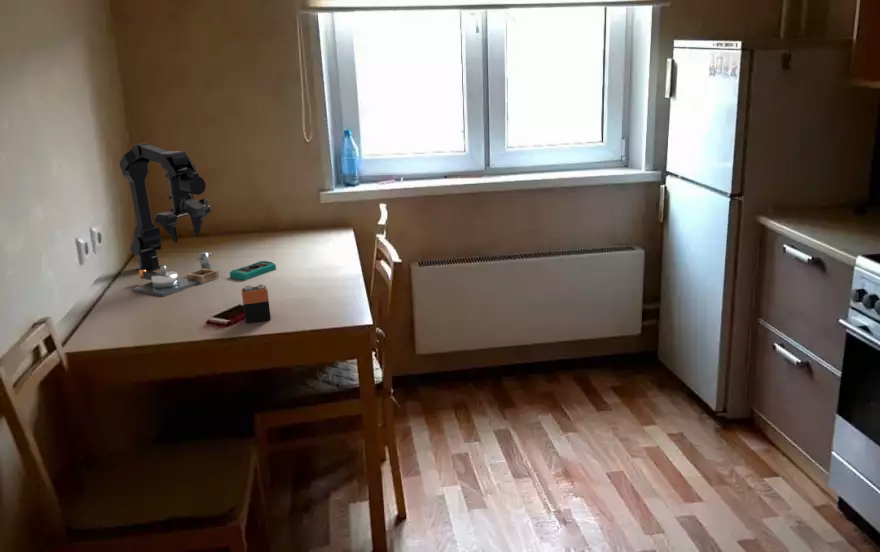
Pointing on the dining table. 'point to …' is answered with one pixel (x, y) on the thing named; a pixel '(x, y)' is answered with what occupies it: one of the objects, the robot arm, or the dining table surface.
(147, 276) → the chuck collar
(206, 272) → the key socket
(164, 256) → the dining table surface
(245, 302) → the battery
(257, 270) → the digital multimeter
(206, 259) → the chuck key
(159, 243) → the robot arm
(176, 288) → the chuck base
